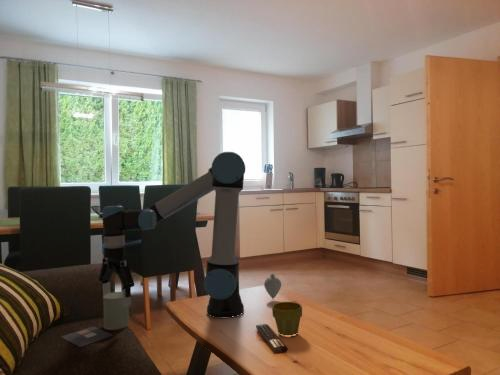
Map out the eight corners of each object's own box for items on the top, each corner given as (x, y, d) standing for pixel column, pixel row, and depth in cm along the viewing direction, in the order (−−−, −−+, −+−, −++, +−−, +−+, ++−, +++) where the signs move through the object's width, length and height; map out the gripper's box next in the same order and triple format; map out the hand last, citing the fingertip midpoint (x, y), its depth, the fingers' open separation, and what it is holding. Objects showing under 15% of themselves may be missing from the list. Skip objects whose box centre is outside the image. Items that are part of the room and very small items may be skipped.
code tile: (113, 335, 132) (113, 334, 132) (80, 347, 123) (80, 346, 123) (93, 326, 141) (93, 326, 141) (60, 337, 132) (60, 336, 132)
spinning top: (276, 304, 163) (276, 276, 163) (261, 301, 167) (260, 274, 167) (284, 299, 170) (284, 272, 170) (269, 297, 174) (269, 271, 174)
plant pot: (267, 331, 133) (266, 304, 133) (291, 326, 137) (291, 299, 137) (283, 342, 123) (282, 312, 123) (308, 336, 128) (308, 307, 128)
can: (121, 330, 136) (120, 297, 136) (98, 329, 138) (97, 296, 138) (133, 321, 145) (133, 290, 145) (112, 320, 147) (111, 290, 147)
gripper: (88, 245, 147) (90, 299, 147) (124, 250, 131) (127, 311, 131) (105, 243, 152) (108, 295, 153) (142, 247, 137) (145, 305, 137)
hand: (116, 302), depth 142 cm, fingers open, 13 cm apart
